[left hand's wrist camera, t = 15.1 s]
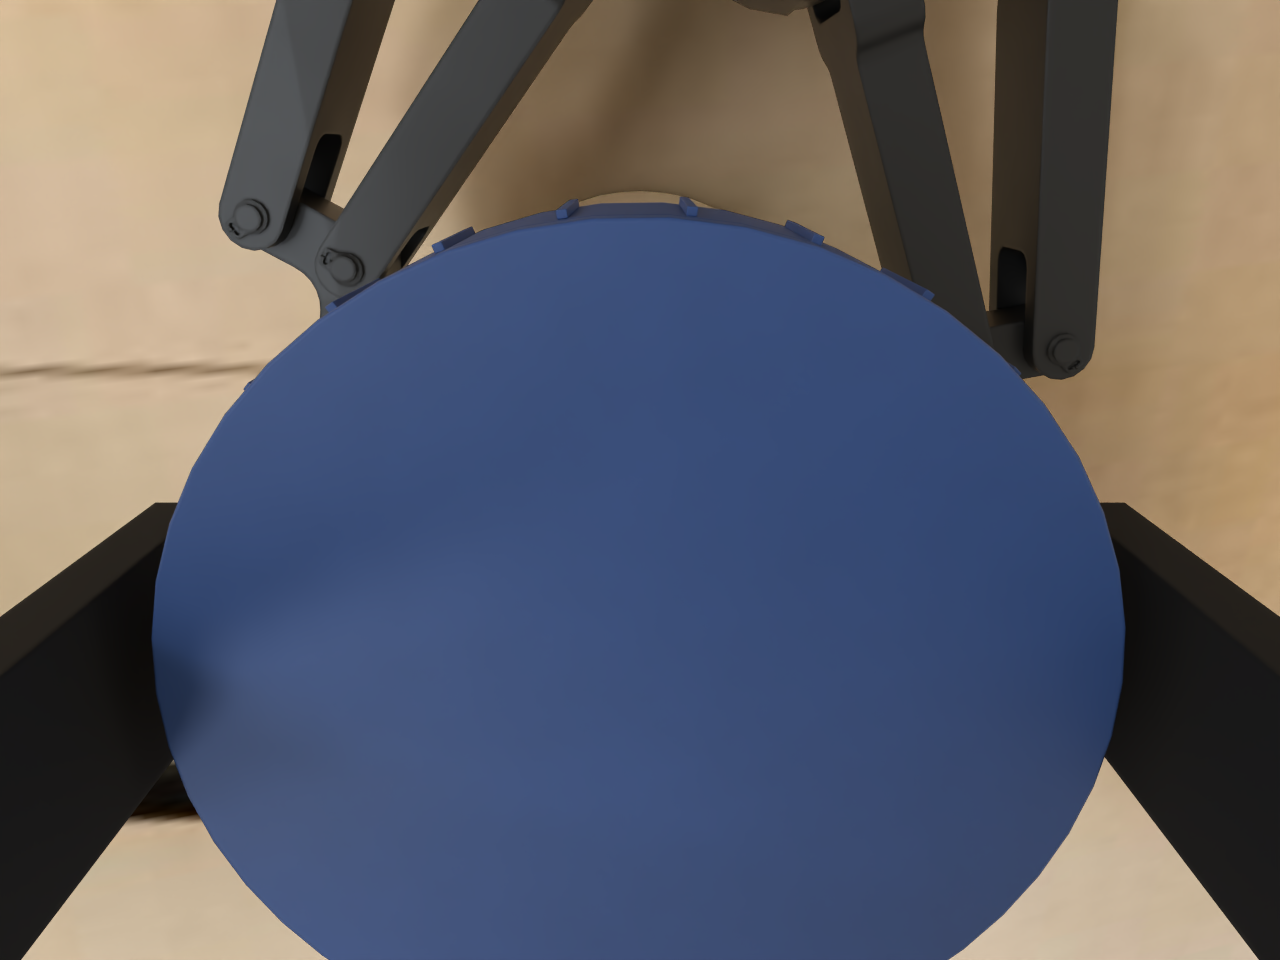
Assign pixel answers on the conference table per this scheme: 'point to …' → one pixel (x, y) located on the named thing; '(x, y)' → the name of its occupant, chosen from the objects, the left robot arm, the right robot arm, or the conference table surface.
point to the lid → (638, 607)
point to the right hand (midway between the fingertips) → (610, 611)
